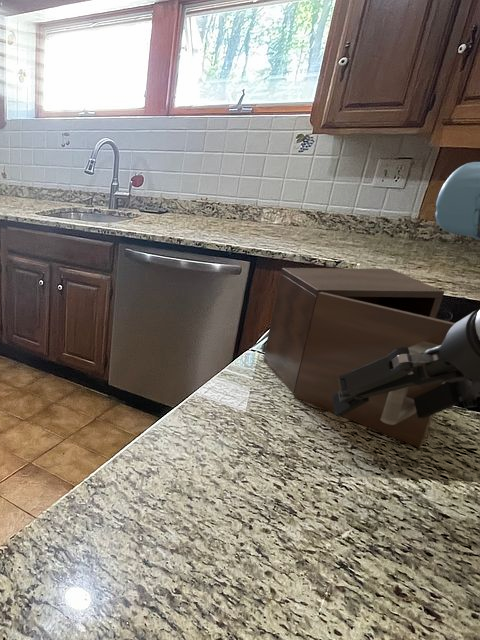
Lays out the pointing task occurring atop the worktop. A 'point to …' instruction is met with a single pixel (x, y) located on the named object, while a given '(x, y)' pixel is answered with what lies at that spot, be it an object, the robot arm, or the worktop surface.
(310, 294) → the cupboard
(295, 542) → the worktop surface
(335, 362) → the door
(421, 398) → the robot arm
